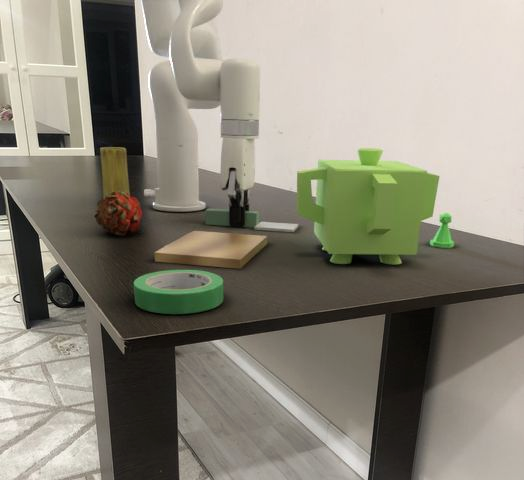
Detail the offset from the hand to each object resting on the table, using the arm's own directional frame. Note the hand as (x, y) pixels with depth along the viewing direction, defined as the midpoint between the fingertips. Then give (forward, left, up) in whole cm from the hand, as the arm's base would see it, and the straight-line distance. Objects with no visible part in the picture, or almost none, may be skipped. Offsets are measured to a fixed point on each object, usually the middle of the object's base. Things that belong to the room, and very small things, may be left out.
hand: (239, 223), depth 117 cm
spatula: (+3, 0, 0) cm, 3 cm away
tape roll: (+6, -50, -1) cm, 50 cm away
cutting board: (+2, -24, 0) cm, 24 cm away
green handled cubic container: (+26, -18, -1) cm, 32 cm away
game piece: (+40, -5, -1) cm, 41 cm away
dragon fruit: (-20, -15, -1) cm, 25 cm away
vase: (-28, 0, -1) cm, 28 cm away
